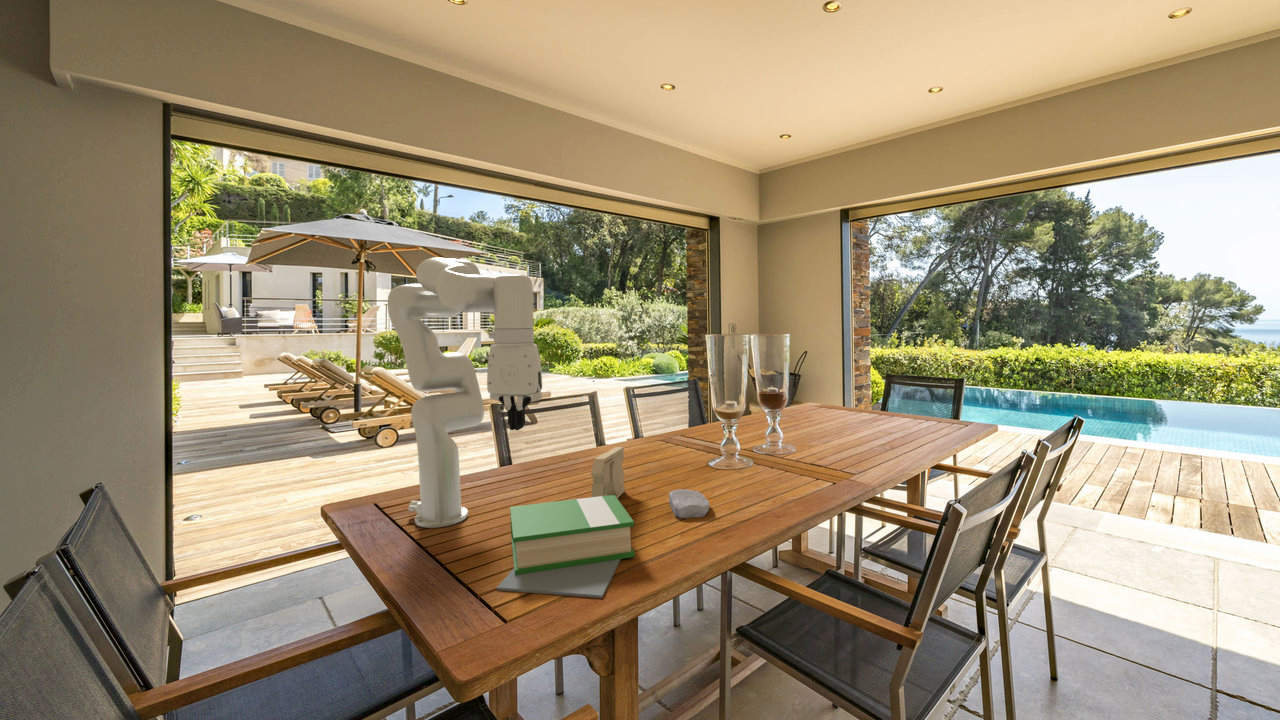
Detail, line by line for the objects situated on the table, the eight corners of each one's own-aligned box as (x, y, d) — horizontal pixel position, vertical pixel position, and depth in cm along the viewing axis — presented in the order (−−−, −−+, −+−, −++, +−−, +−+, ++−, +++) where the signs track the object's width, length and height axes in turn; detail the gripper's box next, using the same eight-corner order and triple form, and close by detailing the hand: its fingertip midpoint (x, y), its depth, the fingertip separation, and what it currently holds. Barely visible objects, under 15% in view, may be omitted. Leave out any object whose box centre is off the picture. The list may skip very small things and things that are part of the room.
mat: (496, 589, 95) (496, 587, 95) (541, 540, 116) (540, 537, 116) (602, 598, 91) (602, 595, 91) (627, 544, 113) (627, 542, 113)
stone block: (701, 507, 140) (665, 502, 139) (704, 490, 139) (668, 485, 138) (712, 526, 128) (673, 521, 127) (715, 507, 128) (676, 502, 126)
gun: (602, 523, 125) (601, 461, 125) (589, 522, 126) (588, 461, 126) (625, 498, 149) (624, 446, 149) (614, 498, 150) (613, 446, 150)
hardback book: (514, 575, 99) (634, 556, 106) (513, 537, 99) (634, 521, 105) (511, 538, 116) (615, 525, 123) (510, 506, 116) (614, 494, 122)
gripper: (470, 338, 100) (473, 431, 102) (543, 339, 97) (545, 434, 99) (488, 336, 107) (490, 423, 109) (556, 337, 105) (558, 426, 106)
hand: (516, 428), depth 104 cm, fingers closed
